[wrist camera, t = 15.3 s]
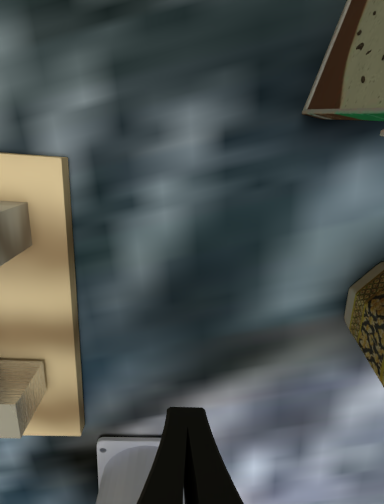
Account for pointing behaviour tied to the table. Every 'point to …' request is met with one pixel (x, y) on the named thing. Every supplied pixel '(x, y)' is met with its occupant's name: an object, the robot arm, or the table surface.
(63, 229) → the base
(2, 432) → the block
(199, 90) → the table surface
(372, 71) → the food container
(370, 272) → the ceramic cup
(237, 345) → the table surface
